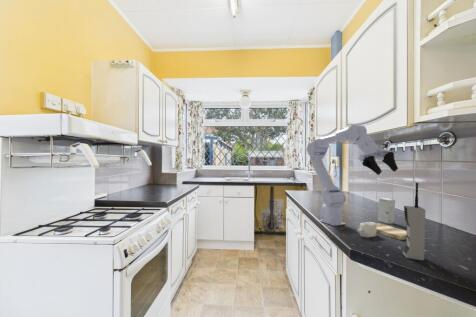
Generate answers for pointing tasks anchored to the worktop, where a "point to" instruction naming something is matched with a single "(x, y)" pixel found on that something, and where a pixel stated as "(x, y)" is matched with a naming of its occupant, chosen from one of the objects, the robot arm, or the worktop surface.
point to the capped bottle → (368, 229)
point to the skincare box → (386, 210)
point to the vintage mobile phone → (415, 230)
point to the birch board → (391, 231)
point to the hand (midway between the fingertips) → (388, 171)
